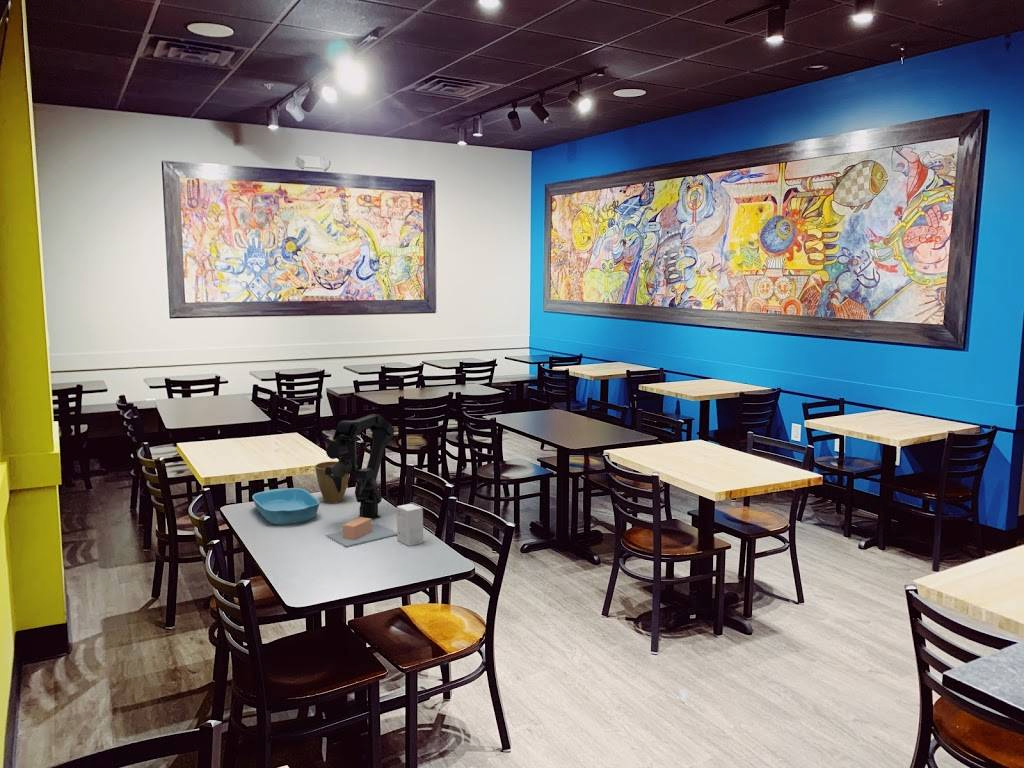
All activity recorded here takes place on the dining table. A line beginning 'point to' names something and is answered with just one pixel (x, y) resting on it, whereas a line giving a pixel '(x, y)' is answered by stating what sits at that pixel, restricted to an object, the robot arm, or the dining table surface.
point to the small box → (410, 524)
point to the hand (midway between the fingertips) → (349, 493)
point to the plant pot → (330, 483)
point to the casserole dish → (286, 505)
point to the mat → (376, 534)
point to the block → (357, 528)
